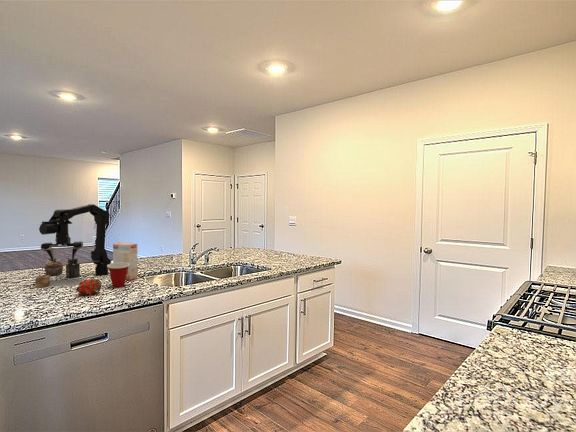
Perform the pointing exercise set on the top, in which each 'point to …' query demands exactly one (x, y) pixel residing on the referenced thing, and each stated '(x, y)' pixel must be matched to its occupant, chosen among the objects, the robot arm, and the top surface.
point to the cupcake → (53, 267)
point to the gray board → (64, 283)
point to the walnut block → (42, 281)
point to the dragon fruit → (88, 287)
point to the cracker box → (126, 257)
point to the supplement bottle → (72, 268)
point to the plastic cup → (118, 273)
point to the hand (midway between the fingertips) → (63, 260)
